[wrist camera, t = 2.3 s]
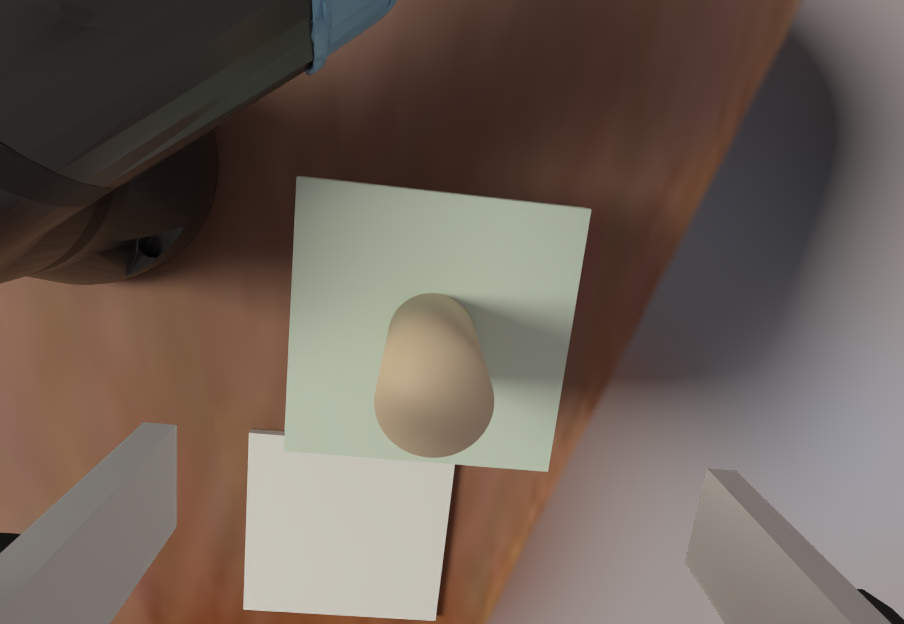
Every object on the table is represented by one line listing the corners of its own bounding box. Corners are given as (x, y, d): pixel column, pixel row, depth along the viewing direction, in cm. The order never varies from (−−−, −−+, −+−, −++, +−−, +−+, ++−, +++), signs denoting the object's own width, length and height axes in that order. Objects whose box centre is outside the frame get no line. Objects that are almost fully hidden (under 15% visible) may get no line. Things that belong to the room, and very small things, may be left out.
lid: (289, 439, 30) (231, 559, 21) (302, 175, 26) (240, 182, 18) (543, 459, 30) (592, 582, 22) (584, 207, 27) (661, 228, 18)
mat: (245, 603, 43) (243, 609, 43) (251, 428, 40) (249, 432, 39) (435, 614, 44) (435, 620, 44) (456, 445, 41) (456, 449, 40)
